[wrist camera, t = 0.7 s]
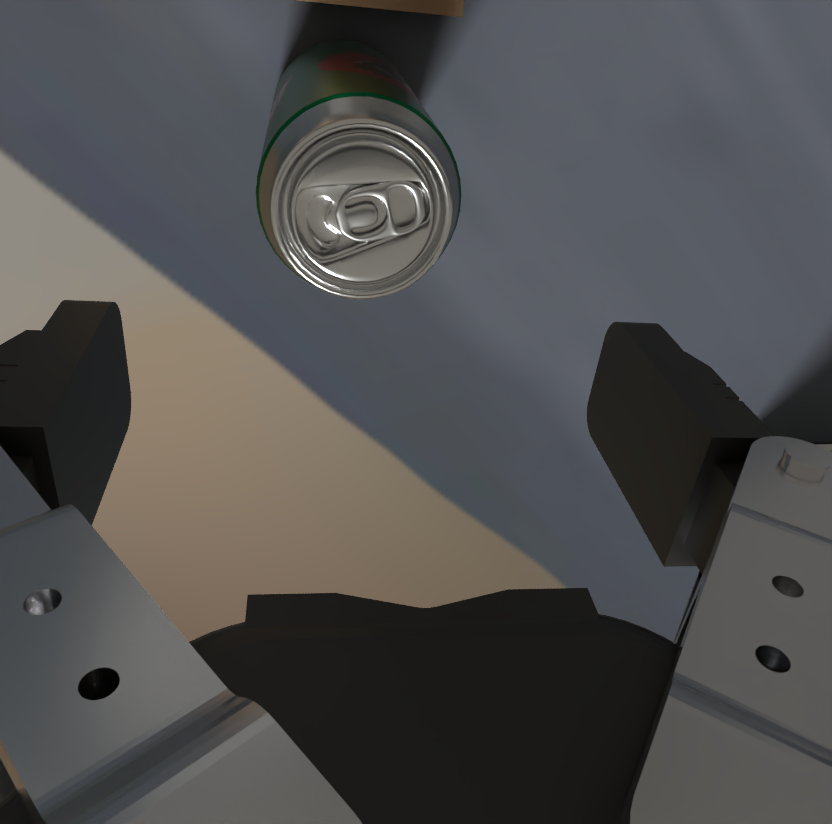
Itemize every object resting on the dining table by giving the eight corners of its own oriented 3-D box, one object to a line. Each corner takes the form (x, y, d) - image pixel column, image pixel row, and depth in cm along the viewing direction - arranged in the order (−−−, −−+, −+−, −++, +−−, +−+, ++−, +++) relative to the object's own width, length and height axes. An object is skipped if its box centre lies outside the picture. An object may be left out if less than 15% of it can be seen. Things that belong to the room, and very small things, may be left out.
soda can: (255, 54, 26) (222, 128, 16) (396, 23, 26) (451, 77, 16) (294, 195, 29) (288, 333, 19) (421, 167, 29) (482, 289, 19)
